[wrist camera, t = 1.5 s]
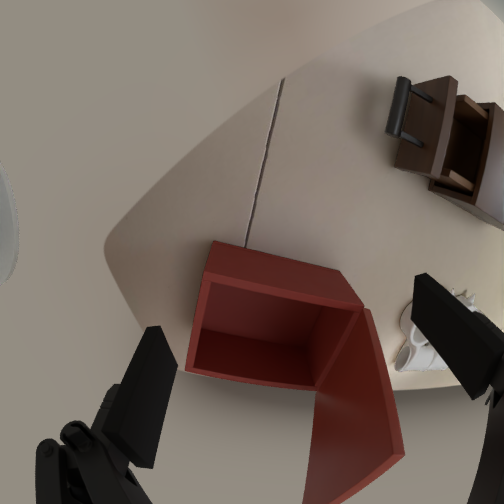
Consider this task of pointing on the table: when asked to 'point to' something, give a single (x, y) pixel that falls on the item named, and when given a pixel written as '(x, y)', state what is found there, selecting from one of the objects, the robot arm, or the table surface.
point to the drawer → (438, 132)
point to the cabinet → (484, 175)
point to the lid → (353, 420)
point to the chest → (269, 319)
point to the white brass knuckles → (422, 343)
